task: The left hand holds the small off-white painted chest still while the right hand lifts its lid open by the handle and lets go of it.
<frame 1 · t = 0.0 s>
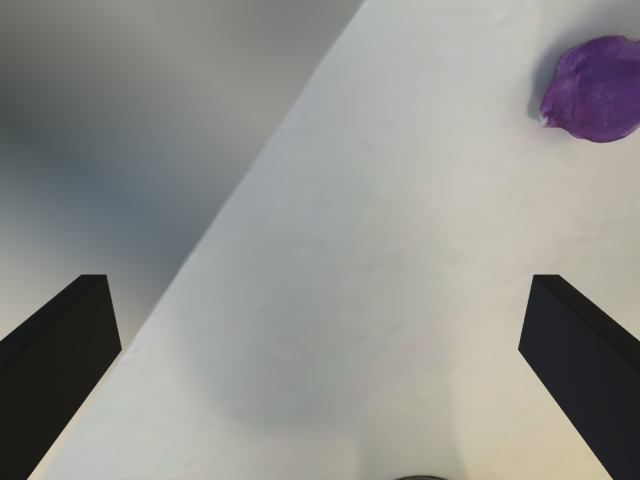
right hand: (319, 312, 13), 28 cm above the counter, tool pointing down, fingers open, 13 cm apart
figurine: (595, 79, 37), on the counter
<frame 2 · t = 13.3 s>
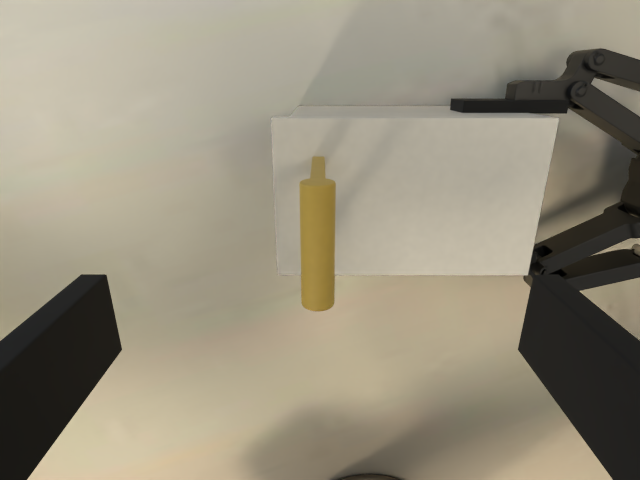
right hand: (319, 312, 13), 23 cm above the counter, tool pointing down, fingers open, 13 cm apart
left hand: (447, 183, 29), fingers closed on chest, 9 cm apart
chest: (387, 165, 35), on the counter, touching left hand
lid: (420, 219, 21), point 14 cm above the counter, hinge at 0.0°
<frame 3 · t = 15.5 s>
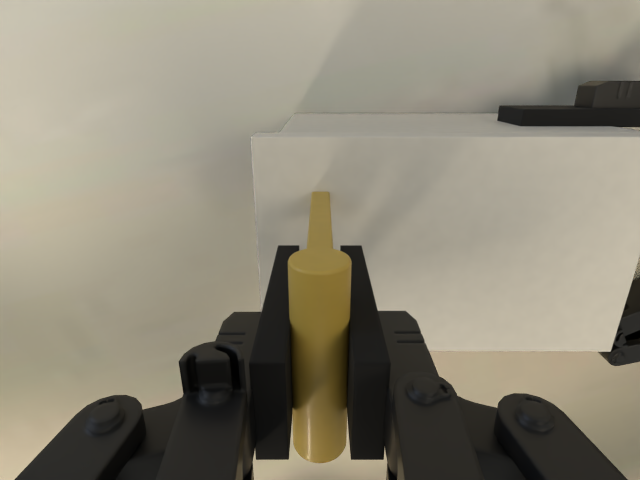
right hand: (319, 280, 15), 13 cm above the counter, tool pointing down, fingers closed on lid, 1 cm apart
chest: (407, 188, 27), on the counter, touching left hand
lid: (474, 291, 14), point 14 cm above the counter, hinge at -0.1°, touching right hand
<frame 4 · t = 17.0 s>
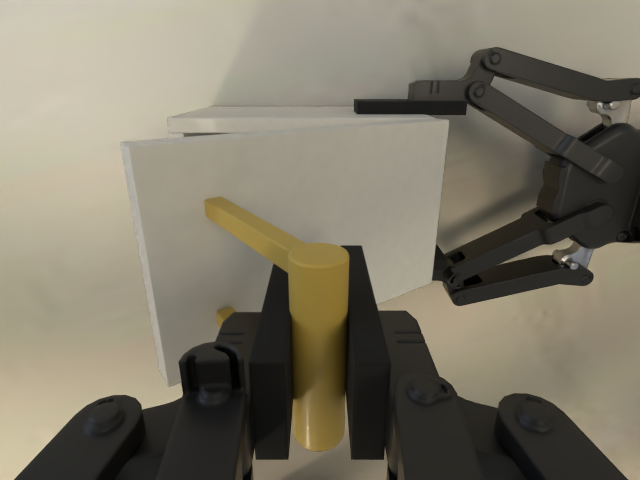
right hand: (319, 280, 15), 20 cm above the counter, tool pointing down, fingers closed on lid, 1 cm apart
left hand: (353, 186, 28), fingers closed on chest, 10 cm apart
chest: (307, 167, 34), on the counter, touching left hand
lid: (373, 258, 17), point 18 cm above the counter, hinge at 35.2°, touching right hand
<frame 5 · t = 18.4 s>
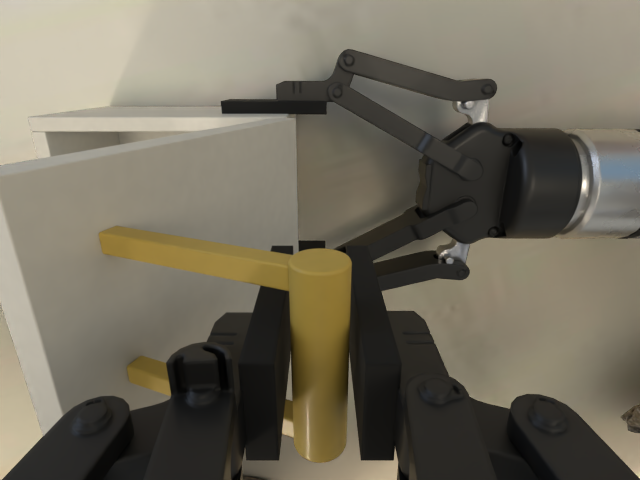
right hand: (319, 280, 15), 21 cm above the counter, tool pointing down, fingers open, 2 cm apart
left hand: (232, 184, 29), fingers closed on chest, 10 cm apart
chest: (207, 166, 35), on the counter, touching left hand
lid: (285, 260, 17), point 19 cm above the counter, hinge at 67.6°
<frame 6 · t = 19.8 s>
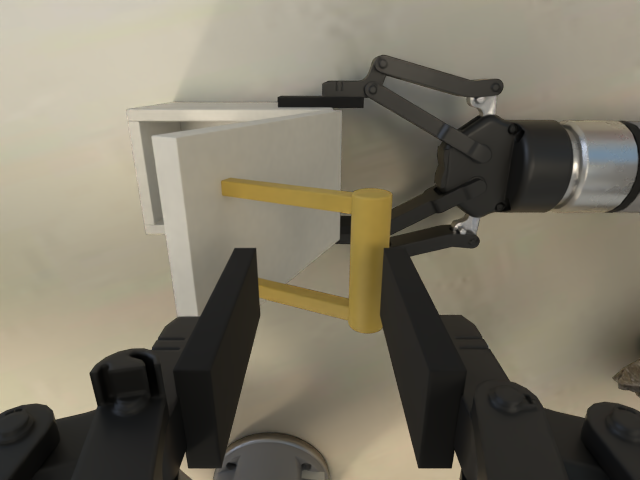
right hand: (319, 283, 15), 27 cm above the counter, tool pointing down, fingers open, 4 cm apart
left hand: (281, 166, 34), fingers closed on chest, 9 cm apart
chest: (254, 153, 40), on the counter, touching left hand
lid: (337, 213, 22), point 19 cm above the counter, hinge at 64.6°
when the left hand's fingers open (6 cm above the counter, at t = 22.3 s): chest stays where it is, on the counter.
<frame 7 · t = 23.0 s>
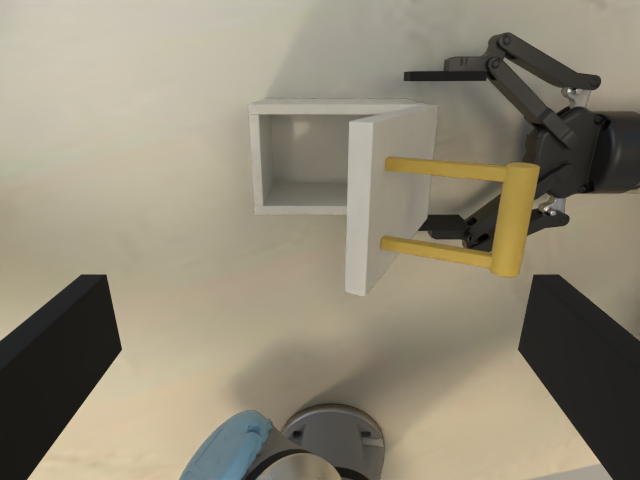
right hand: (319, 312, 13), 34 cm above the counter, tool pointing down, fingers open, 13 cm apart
left hand: (401, 154, 39), fingers open, 13 cm apart
chest: (333, 145, 45), on the counter
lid: (455, 189, 27), point 19 cm above the counter, hinge at 64.0°
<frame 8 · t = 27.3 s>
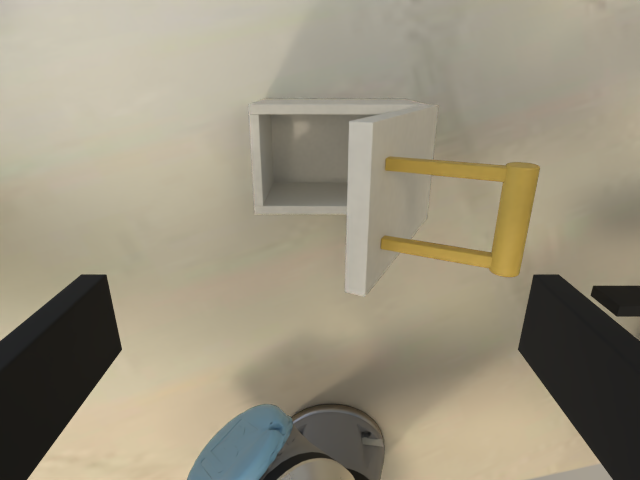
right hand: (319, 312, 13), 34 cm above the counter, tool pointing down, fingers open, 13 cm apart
chest: (333, 145, 45), on the counter
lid: (455, 189, 27), point 19 cm above the counter, hinge at 64.0°
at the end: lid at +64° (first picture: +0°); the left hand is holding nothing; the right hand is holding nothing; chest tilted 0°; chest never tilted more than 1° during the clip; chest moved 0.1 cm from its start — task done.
